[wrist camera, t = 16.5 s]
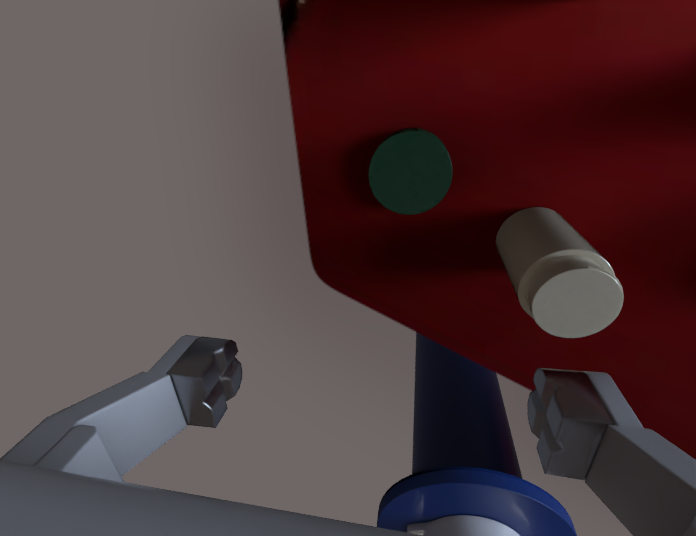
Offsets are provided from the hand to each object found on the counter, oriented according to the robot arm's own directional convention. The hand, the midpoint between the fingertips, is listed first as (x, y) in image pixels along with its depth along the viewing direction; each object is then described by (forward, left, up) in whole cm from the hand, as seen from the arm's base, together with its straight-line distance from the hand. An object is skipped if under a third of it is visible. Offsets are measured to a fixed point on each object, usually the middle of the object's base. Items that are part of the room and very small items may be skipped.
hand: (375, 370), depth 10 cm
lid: (0, 0, -23) cm, 23 cm away
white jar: (-4, -12, -25) cm, 28 cm away
